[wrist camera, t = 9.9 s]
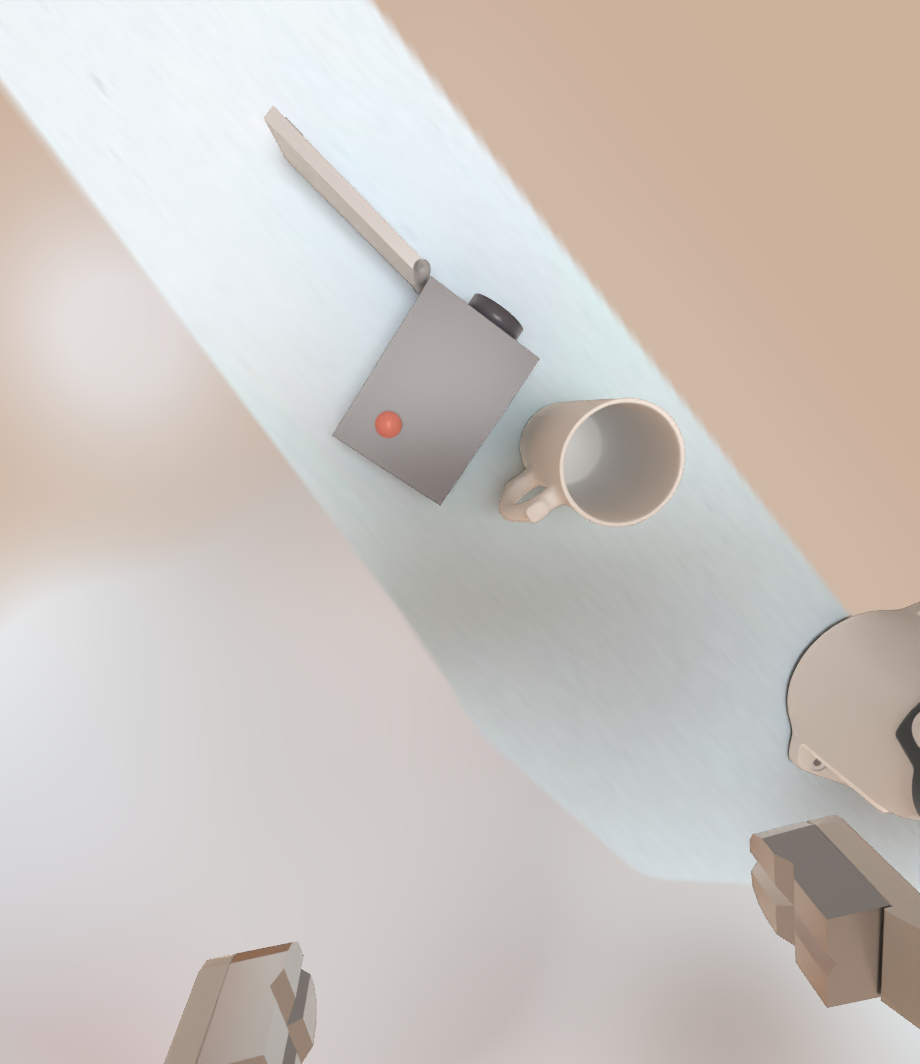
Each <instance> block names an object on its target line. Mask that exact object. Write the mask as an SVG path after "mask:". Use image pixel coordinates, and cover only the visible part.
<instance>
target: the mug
mask: <svg viewBox="0 0 920 1064" xmlns="http://www.w3.org/2000/svg"><path fill="white" fill-rule="evenodd" d="M520 454H521V458H522V461H523V464H524V466H525V468H526V469H525V470H524V471H523V472H522V473H520V474H519V475H517V476H516V477H514V478H513V479H511V480H510V481H509V482H507V483H506V485H505V486H504V490H503V492H502V495H501V498H500V501H499V511H500V514H501V515H502V517H503V518H505V519H506V520H509V521H515V522H526V521H527V522H532V523H537V522H538V521H540V520H541V519H543V518H544V517H545V516H547V515H548V513H549V512H550V511H551V510H552V509H553V508H555V507H557V506H560V505H568V506H570V507H571V508H573V509H574V510H575V511H577V512H578V513H579V514H580V515H581V516H583V517H584V518H586V519H588V520H589V521H592V522H594V523H596V524H600V525H604V526H610V527H622V526H628V525H633V524H636V523H639V522H641V521H643V520H645V519H647V518H649V517H651V516H652V515H654V514H655V513H657V512H658V511H659V510H660V509H661V508H662V507H663V506H664V505H665V504H666V503H667V502H668V501H669V500H670V498H671V497H672V496H673V494H674V492H675V491H676V489H677V487H678V485H679V483H680V480H681V477H682V474H683V470H684V464H685V448H684V442H683V438H682V435H681V432H680V430H679V428H678V426H677V424H676V423H675V421H674V420H673V419H672V418H671V416H670V415H669V414H668V413H667V412H665V411H664V410H663V409H662V408H660V407H658V406H657V405H655V404H653V403H651V402H648V401H645V400H641V399H635V398H621V399H600V400H587V401H571V402H561V403H554V404H551V405H548V406H546V407H544V408H542V409H540V410H539V411H537V412H536V413H535V414H534V415H533V416H532V417H531V418H530V419H529V421H528V422H527V424H526V426H525V428H524V430H523V432H522V435H521V440H520ZM537 486H544V487H546V488H545V489H544V490H543V491H542V492H541V493H540V494H538V495H537V496H535V497H533V498H532V499H530V500H528V501H526V502H523V503H520V504H516V503H517V502H518V501H519V500H520V499H521V497H523V496H524V495H525V494H526V493H528V492H529V491H530V490H532V489H534V488H535V487H537Z"/></svg>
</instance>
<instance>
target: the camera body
mask: <svg viewBox="0 0 920 1064" xmlns="http://www.w3.org/2000/svg"><path fill="white" fill-rule="evenodd" d="M522 331H523V328H522V326H521V324H520V323H519V322H518V321H517V319H516V318H515V317H514V316H513V315H511V314H510V313H509V312H508V311H507V310H506V309H504V308H503V307H502V306H500V305H499V304H497V303H496V302H494V301H493V300H491V299H489V298H488V297H486V296H483V295H481V294H474V296H473V298H472V299H471V301H470V302H469V304H467V303H466V302H464V301H463V300H462V299H460V298H459V297H458V296H456V295H455V294H454V293H452V292H451V291H450V290H448V289H447V288H446V287H445V286H443V285H442V284H441V283H439V282H438V281H437V280H435V279H434V278H433V277H430V279H429V280H428V282H427V284H426V285H425V287H424V289H423V290H422V292H421V293H420V295H419V297H418V298H417V300H416V301H415V303H414V305H413V306H412V308H411V309H410V311H409V313H408V314H407V316H406V318H405V319H404V321H403V322H402V324H401V326H400V327H399V329H398V330H397V332H396V334H395V335H394V337H393V338H392V340H391V342H390V343H389V345H388V347H387V348H386V350H385V351H384V353H383V355H382V356H381V358H380V359H379V361H378V363H377V364H376V366H375V367H374V369H373V371H372V372H371V374H370V376H369V377H368V379H367V380H366V382H365V384H364V385H363V387H362V388H361V390H360V392H359V393H358V395H357V396H356V398H355V400H354V401H353V403H352V405H351V406H350V408H349V409H348V411H347V413H346V414H345V416H344V417H343V419H342V421H341V422H340V424H339V425H338V427H337V429H336V430H335V432H334V434H333V435H332V436H334V437H335V438H337V439H339V440H340V441H342V442H343V443H345V444H346V445H348V446H349V447H351V448H352V449H354V450H355V451H357V452H359V453H360V454H362V455H363V456H365V457H366V458H368V459H369V460H371V461H372V462H374V463H376V464H377V465H379V466H380V467H382V468H383V469H385V470H386V471H388V472H389V473H391V474H392V475H394V476H396V477H397V478H399V479H400V480H402V481H403V482H405V483H406V484H408V485H409V486H411V487H412V488H414V489H416V490H417V491H419V492H420V493H422V494H423V495H425V496H426V497H428V498H429V499H431V500H432V501H434V502H436V503H437V504H439V505H441V504H442V502H443V501H444V499H445V498H446V496H447V495H448V493H449V492H450V490H451V489H452V487H453V486H454V485H455V483H456V482H457V480H458V479H459V477H460V476H461V474H462V473H463V471H464V470H465V468H466V467H467V465H468V464H469V462H470V461H471V459H472V458H473V456H474V455H475V454H476V452H477V451H478V449H479V448H480V446H481V445H482V443H483V442H484V440H485V439H486V437H487V436H488V434H489V433H490V431H491V430H492V428H493V427H494V425H495V424H496V423H497V421H498V420H499V418H500V417H501V415H502V414H503V412H504V411H505V409H506V408H507V406H508V405H509V403H510V402H511V400H512V399H513V397H514V396H515V395H516V393H517V392H518V390H519V389H520V387H521V386H522V384H523V383H524V381H525V380H526V378H527V377H528V375H529V374H530V372H531V371H532V369H533V368H534V366H535V365H536V364H537V362H538V361H539V359H540V358H538V357H537V356H536V355H534V354H533V353H532V352H530V351H529V350H528V349H526V348H525V347H524V346H522V345H521V344H520V343H518V342H517V341H516V340H517V338H518V337H519V335H520V334H521V332H522Z"/></svg>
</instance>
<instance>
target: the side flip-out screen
mask: <svg viewBox="0 0 920 1064" xmlns="http://www.w3.org/2000/svg"><path fill="white" fill-rule="evenodd" d="M264 119H265V121H266V123H267V125H268V127H269V129H270V131H271V132H272V134H273V136H274V138H275V140H276V142H277V144H278V146H279V147H280V149H281V151H282V153H283V155H284V157H285V159H286V160H287V161H288V162H289V163H290V164H291V165H292V166H293V167H294V168H295V169H296V170H297V171H298V172H299V173H300V174H301V175H302V176H303V177H304V178H305V179H306V180H307V181H308V182H309V183H310V184H311V185H312V186H313V187H314V188H315V189H316V190H317V191H318V192H319V193H320V194H321V195H322V196H323V197H324V198H325V199H326V200H327V201H328V202H329V203H330V204H331V205H332V206H333V207H334V208H335V209H336V210H337V211H338V212H339V213H340V214H341V215H342V216H343V217H344V218H345V219H346V220H347V221H348V222H349V223H350V224H351V225H352V226H353V227H354V228H355V229H356V230H357V231H358V232H359V233H360V234H361V235H362V236H363V237H364V238H365V239H366V240H367V241H368V242H369V243H370V244H371V245H372V246H373V247H374V248H375V249H376V250H377V251H378V252H379V253H380V254H381V255H382V256H383V257H384V258H385V259H386V260H387V261H388V262H389V263H390V264H391V265H392V266H393V267H394V268H395V269H396V270H397V271H398V272H399V273H400V274H401V275H402V276H403V277H404V278H405V279H406V280H407V281H408V282H409V283H410V284H411V285H412V286H413V287H414V290H415V291H416V292H417V293H418V294H420V293H421V292H422V290H423V289H424V287H425V285H426V284H427V282H428V280H429V277H430V264H429V263H428V262H427V261H426V260H424V259H422V258H421V257H420V256H419V255H418V254H417V253H416V252H415V251H414V250H413V249H412V248H411V247H410V246H409V245H408V244H407V243H406V241H405V240H404V239H403V238H402V237H401V236H400V235H399V234H398V233H397V232H396V231H395V230H394V229H393V228H392V227H391V226H390V225H389V224H388V223H387V222H386V221H385V220H384V219H383V218H382V217H381V216H380V215H379V214H378V213H377V212H376V211H375V210H374V209H373V208H372V207H371V206H370V205H369V203H368V202H367V201H366V200H365V199H364V198H363V197H362V196H361V195H360V194H359V193H358V192H357V191H356V190H355V189H354V188H353V187H352V186H351V185H350V184H349V183H348V182H347V181H346V180H345V179H344V178H343V177H342V176H341V175H340V174H339V173H338V172H337V171H336V170H335V169H334V168H333V166H332V165H331V164H330V163H329V162H328V161H327V160H326V159H325V158H324V157H323V156H322V155H321V154H320V153H319V152H318V151H317V150H316V149H315V148H314V147H313V146H312V145H311V144H310V143H309V142H308V141H307V140H306V139H305V138H304V136H303V134H302V133H301V132H300V131H299V130H298V129H297V128H296V127H295V126H294V125H293V124H292V123H291V122H290V121H289V120H288V119H287V118H286V117H284V116H283V115H282V114H281V113H280V112H279V111H278V110H277V109H276V108H275V107H274V106H272V108H271V109H270V110H269V112H268V113H267V114H266V116H265V117H264Z"/></svg>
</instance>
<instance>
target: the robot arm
mask: <svg viewBox="0 0 920 1064" xmlns="http://www.w3.org/2000/svg"><path fill="white" fill-rule="evenodd" d="M787 705H788V713H789V718H790V721H791V725H792V733H793V734H792V738H791V743H790V748H789V759H790V761H791V762H792V763H794V764H795V765H796V766H798V767H799V768H800V769H802V770H804V771H807V772H810V773H813V774H816V775H819V776H822V777H824V778H827V779H830V780H833V781H836V782H839V783H842V784H844V785H847V786H850V787H851V788H853V789H854V790H855V791H856V792H857V793H859V794H860V795H861V796H862V797H864V798H865V799H866V800H867V801H868V802H870V803H871V804H872V805H873V806H874V807H876V808H877V809H879V810H880V811H882V812H883V813H888V812H891V813H893V814H895V815H898V816H900V817H904V818H908V819H913V820H918V821H920V602H918V603H916V604H913V605H911V606H908V607H906V608H904V609H900V610H879V611H871V612H866V613H862V614H859V615H856V616H853V617H850V618H848V619H846V620H844V621H842V622H840V623H838V624H837V625H835V626H833V627H832V628H830V629H829V630H828V631H826V632H825V633H824V634H823V635H821V636H820V637H819V638H818V639H817V640H816V641H815V642H814V643H813V644H812V645H811V646H810V647H809V649H808V650H807V651H806V652H805V654H804V655H803V657H802V658H801V660H800V661H799V663H798V665H797V667H796V669H795V671H794V673H793V676H792V679H791V682H790V686H789V690H788V699H787ZM750 852H751V853H752V854H753V856H754V857H755V859H756V860H757V863H756V864H755V866H754V867H753V869H752V871H751V875H752V885H753V889H754V892H755V895H756V898H757V900H758V903H759V906H760V907H761V909H762V911H763V913H764V915H765V917H766V919H767V920H768V922H769V923H770V925H771V926H772V928H773V929H774V931H775V932H776V934H777V935H779V936H780V937H782V938H783V939H785V940H787V941H788V942H790V943H791V944H793V945H794V946H795V956H796V963H797V965H798V966H799V968H800V969H801V971H802V972H803V973H804V975H805V976H806V978H807V979H808V981H809V982H810V984H811V985H812V987H813V988H814V990H815V991H816V992H817V994H818V995H819V997H820V998H821V1000H822V1001H823V1003H824V1004H825V1006H826V1007H827V1008H829V1007H833V1006H838V1005H843V1004H848V1003H852V1002H857V1001H862V1000H867V999H872V998H877V997H881V1001H882V1002H884V1003H885V1004H886V1005H888V1006H889V1007H890V1008H892V1009H893V1010H895V1011H896V1012H897V1013H899V1014H900V1015H901V1016H903V1017H904V1018H905V1019H907V1020H908V1021H909V1022H911V1023H912V1024H913V1025H915V1026H916V1027H918V1028H919V1029H920V893H919V892H918V891H917V890H916V889H915V888H914V887H913V886H912V885H911V884H910V883H909V882H908V881H907V880H906V879H904V878H903V877H902V876H901V875H900V874H899V873H898V872H897V871H896V870H895V869H894V868H893V867H892V866H891V865H890V864H889V863H888V862H887V861H886V860H885V859H884V858H883V857H882V856H881V855H880V854H879V853H877V852H876V851H875V850H874V849H873V848H872V847H871V846H870V845H869V844H868V843H867V842H866V841H865V840H864V839H863V838H862V837H861V836H860V835H859V834H858V833H857V832H856V831H855V830H854V829H853V828H851V827H850V826H849V825H848V824H847V823H846V822H845V821H844V820H843V819H842V818H840V817H838V816H836V815H832V816H828V817H824V818H819V819H815V820H811V821H807V822H799V823H795V824H791V825H787V826H783V827H779V828H775V829H771V830H767V831H763V832H759V833H755V834H753V835H752V837H751V838H750ZM303 956H304V955H303V953H302V950H301V948H300V946H299V943H298V942H292V943H287V944H282V945H277V946H272V947H267V948H262V949H257V950H252V951H247V952H242V953H237V954H233V955H228V956H224V957H219V958H214V959H210V960H207V961H206V963H205V964H204V965H203V967H202V969H201V970H200V971H199V973H198V975H197V978H196V981H195V983H194V986H193V988H192V991H191V994H190V997H189V999H188V1002H187V1004H186V1007H185V1010H184V1012H183V1015H182V1018H181V1020H180V1023H179V1025H178V1028H177V1031H176V1034H175V1036H174V1038H173V1041H172V1044H171V1046H170V1049H169V1052H168V1055H167V1057H166V1059H165V1062H164V1064H302V1062H303V1061H304V1059H305V1057H306V1056H307V1054H308V1053H309V1051H310V1050H311V1048H312V1046H313V1042H314V1036H315V1029H316V994H315V988H314V984H313V981H312V978H311V975H310V974H309V973H307V972H305V971H304V970H302V969H301V966H302V961H303Z"/></svg>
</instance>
